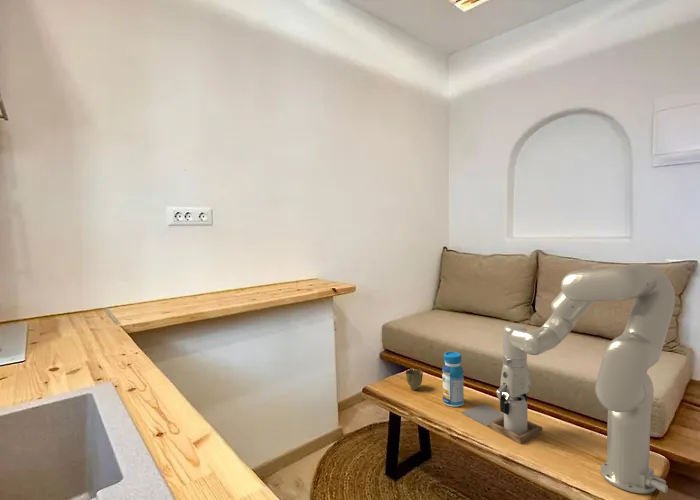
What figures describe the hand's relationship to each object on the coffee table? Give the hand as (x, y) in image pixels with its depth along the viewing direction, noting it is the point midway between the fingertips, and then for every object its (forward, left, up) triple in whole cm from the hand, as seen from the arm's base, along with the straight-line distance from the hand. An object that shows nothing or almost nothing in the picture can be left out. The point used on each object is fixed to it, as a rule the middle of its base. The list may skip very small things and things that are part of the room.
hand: (513, 409), depth 134 cm
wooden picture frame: (-1, 0, -7) cm, 7 cm away
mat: (+12, 0, -7) cm, 14 cm away
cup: (+45, +6, -8) cm, 46 cm away
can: (-1, 0, -8) cm, 8 cm away
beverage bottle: (+26, +2, -8) cm, 27 cm away
